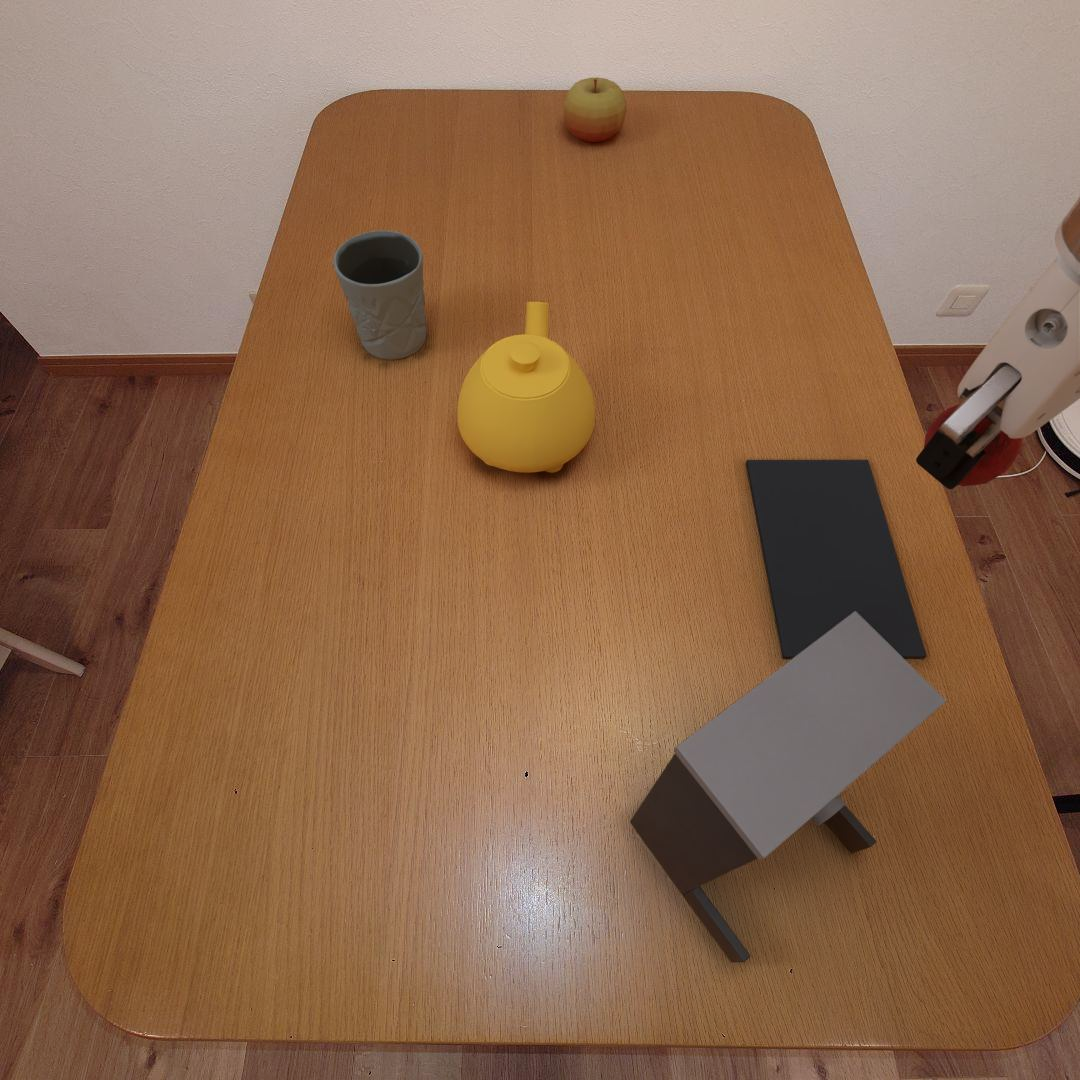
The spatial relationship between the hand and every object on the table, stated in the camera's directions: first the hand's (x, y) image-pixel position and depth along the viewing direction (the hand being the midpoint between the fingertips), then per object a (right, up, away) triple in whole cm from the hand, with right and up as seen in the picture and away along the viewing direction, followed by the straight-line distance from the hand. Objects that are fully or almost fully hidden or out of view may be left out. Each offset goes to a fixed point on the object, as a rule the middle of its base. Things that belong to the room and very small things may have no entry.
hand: (966, 450), depth 51 cm
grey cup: (-49, +20, +42) cm, 68 cm away
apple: (-22, +60, +65) cm, 91 cm away
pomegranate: (0, -2, +3) cm, 3 cm away
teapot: (-32, +8, +34) cm, 48 cm away
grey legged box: (-13, -32, +11) cm, 36 cm away
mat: (0, -8, +25) cm, 26 cm away
